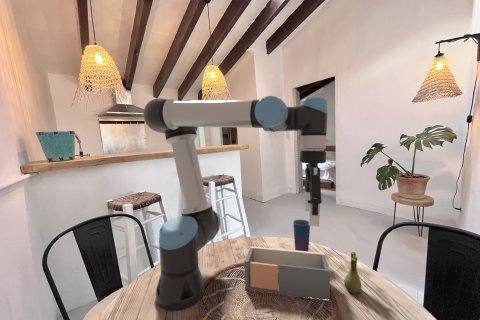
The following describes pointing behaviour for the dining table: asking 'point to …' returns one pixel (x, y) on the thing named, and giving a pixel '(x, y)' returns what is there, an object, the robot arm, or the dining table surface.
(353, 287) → the fennel bulb
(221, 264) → the dining table surface
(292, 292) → the storage box
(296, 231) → the cup
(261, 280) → the box door
